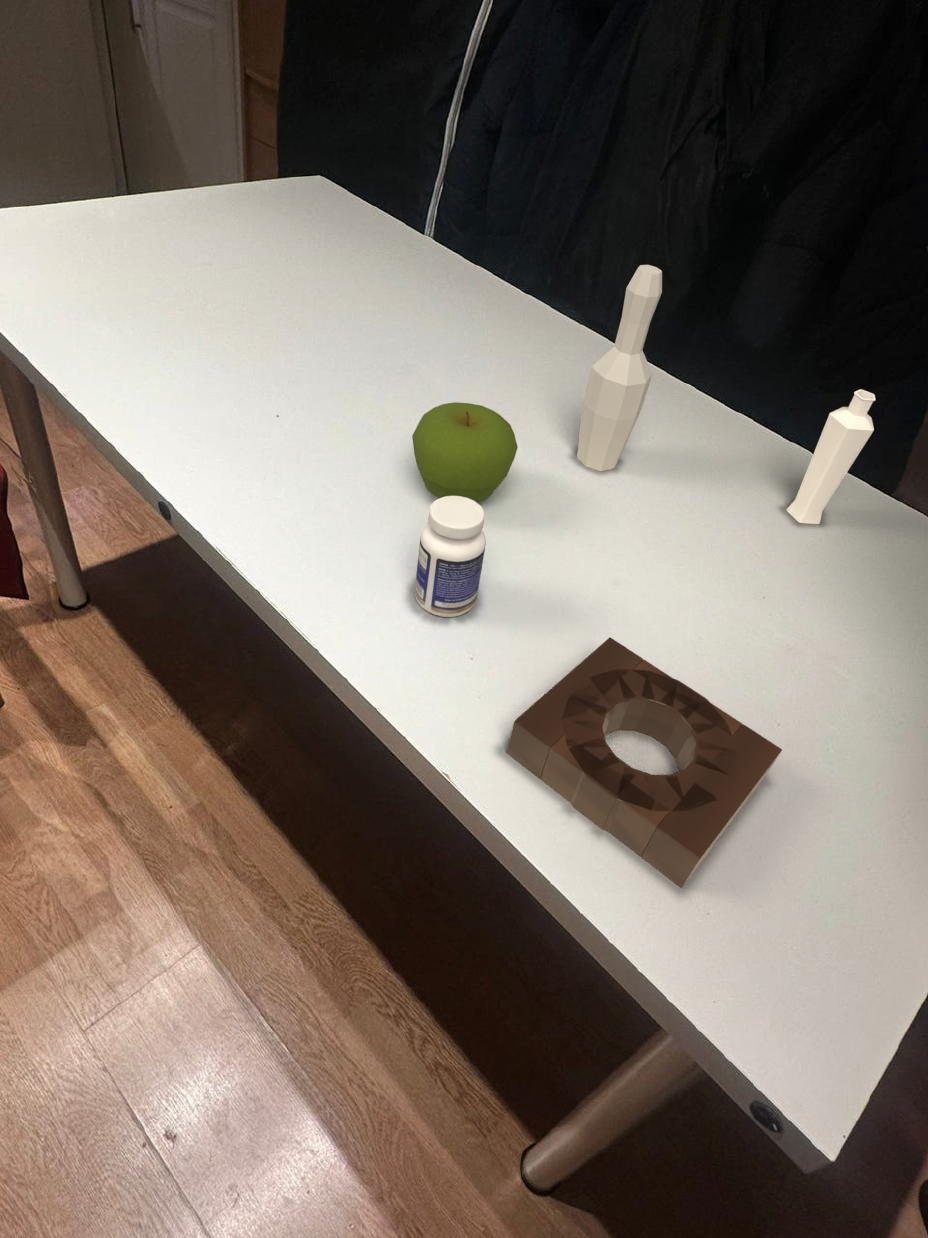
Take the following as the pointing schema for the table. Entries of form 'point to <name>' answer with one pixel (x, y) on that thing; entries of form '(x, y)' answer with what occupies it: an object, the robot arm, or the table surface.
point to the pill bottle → (450, 556)
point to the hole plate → (629, 798)
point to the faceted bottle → (619, 377)
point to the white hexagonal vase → (833, 457)
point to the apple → (463, 450)
